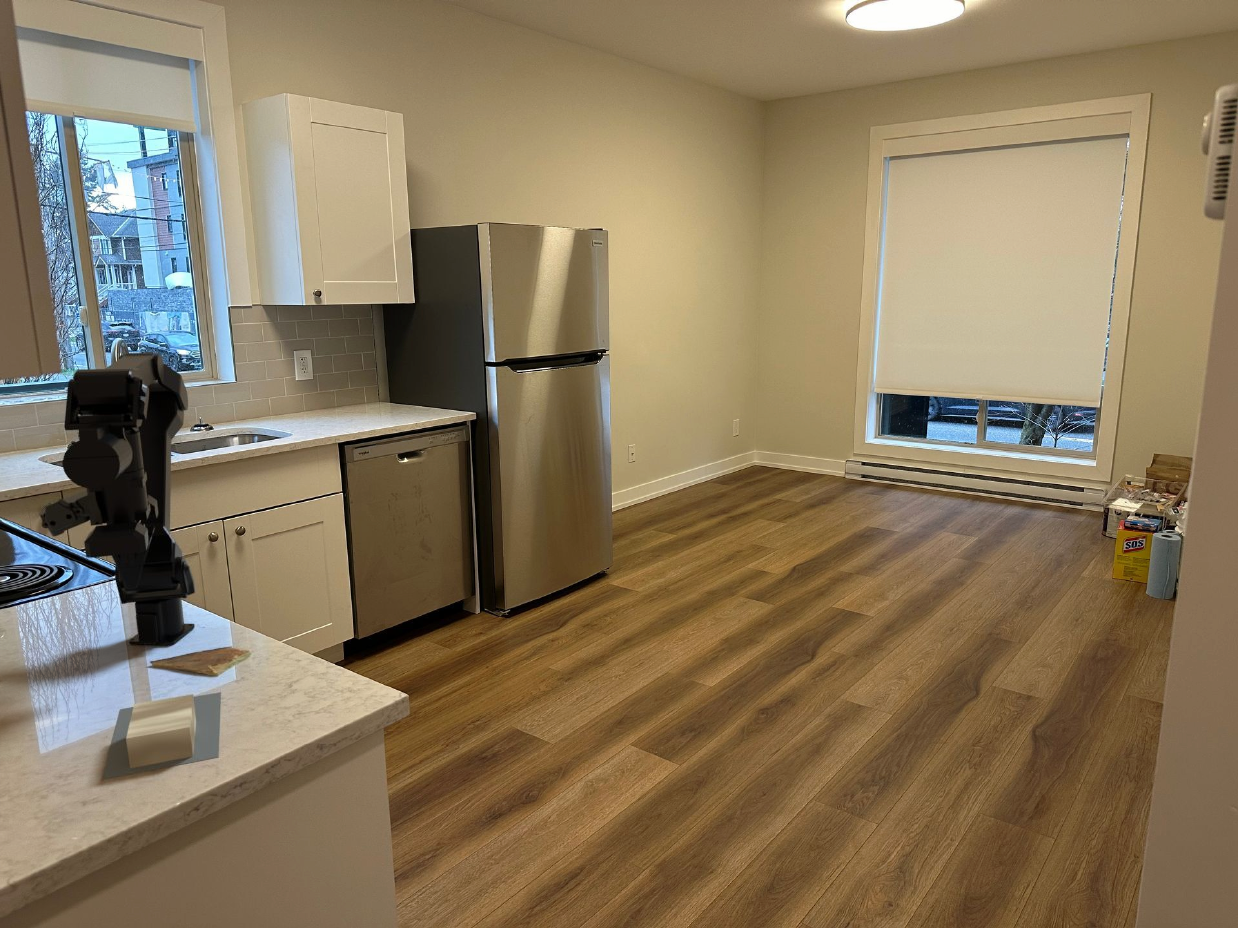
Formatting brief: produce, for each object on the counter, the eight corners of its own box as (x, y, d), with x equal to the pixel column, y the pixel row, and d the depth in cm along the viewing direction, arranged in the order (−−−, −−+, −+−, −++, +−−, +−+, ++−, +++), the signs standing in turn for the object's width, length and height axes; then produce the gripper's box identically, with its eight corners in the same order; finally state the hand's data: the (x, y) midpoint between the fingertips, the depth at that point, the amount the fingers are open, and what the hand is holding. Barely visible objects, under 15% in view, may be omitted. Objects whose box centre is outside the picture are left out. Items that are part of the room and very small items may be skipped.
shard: (150, 671, 115) (148, 659, 114) (193, 648, 122) (192, 636, 121) (217, 683, 111) (215, 670, 111) (257, 658, 119) (256, 646, 118)
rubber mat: (120, 711, 103) (120, 708, 103) (221, 694, 107) (221, 691, 107) (102, 783, 89) (101, 779, 89) (218, 760, 93) (218, 756, 93)
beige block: (134, 703, 97) (126, 738, 90) (193, 693, 99) (189, 726, 92) (137, 731, 98) (130, 768, 91) (196, 721, 100) (193, 756, 93)
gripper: (55, 459, 112) (71, 573, 115) (23, 493, 95) (43, 624, 99) (152, 453, 116) (164, 563, 120) (137, 484, 100) (152, 610, 103)
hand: (131, 588), depth 110 cm, fingers closed
